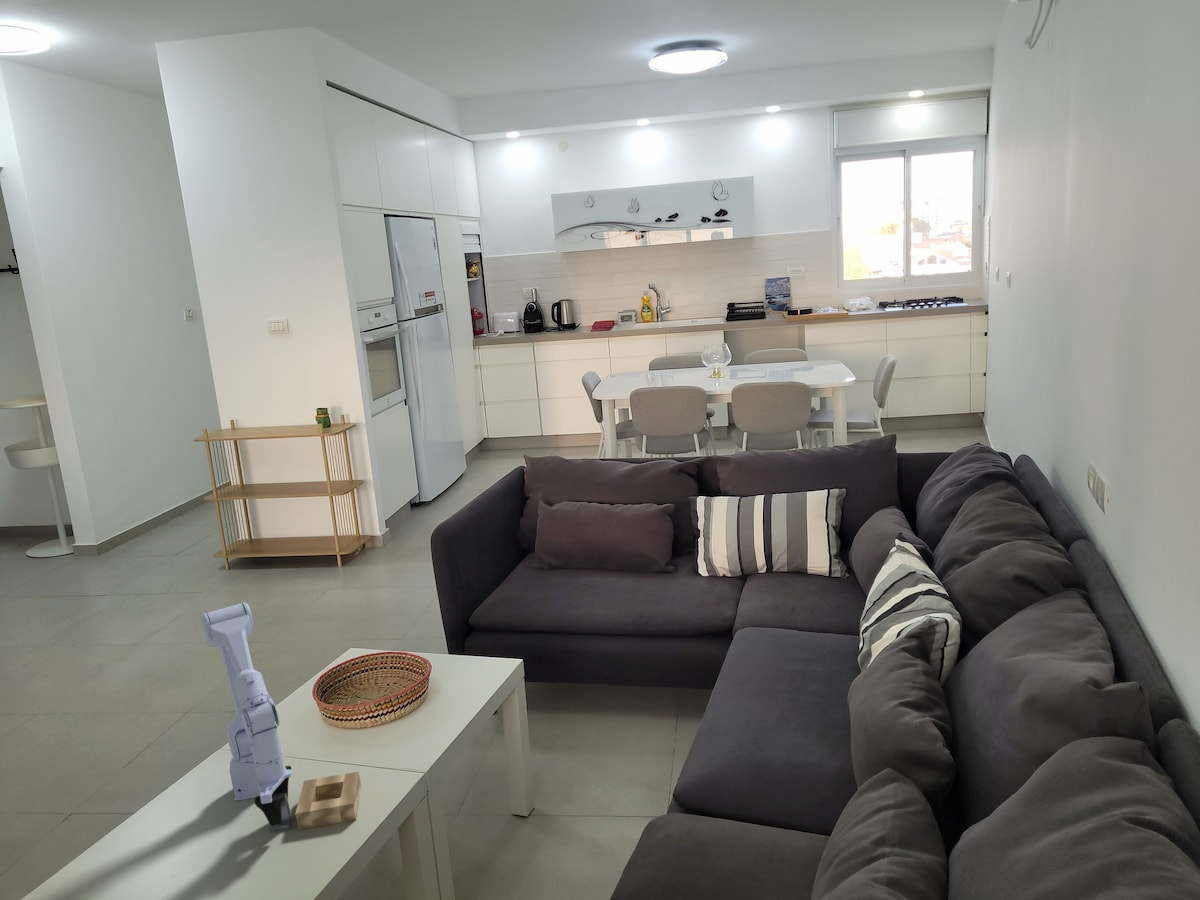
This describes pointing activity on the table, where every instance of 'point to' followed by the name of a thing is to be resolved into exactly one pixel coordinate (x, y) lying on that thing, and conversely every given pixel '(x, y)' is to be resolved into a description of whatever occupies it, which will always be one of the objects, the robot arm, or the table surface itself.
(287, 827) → the grey block
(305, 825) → the well block
